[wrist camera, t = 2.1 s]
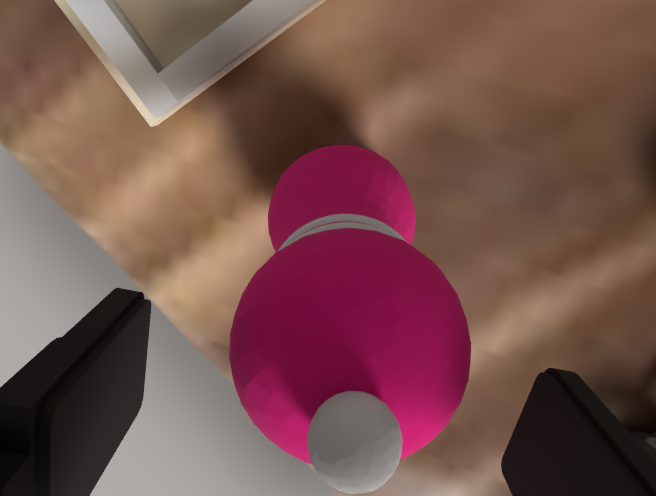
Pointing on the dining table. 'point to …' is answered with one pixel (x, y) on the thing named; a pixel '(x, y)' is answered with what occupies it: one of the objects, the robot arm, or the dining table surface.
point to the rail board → (177, 42)
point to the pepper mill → (348, 324)
